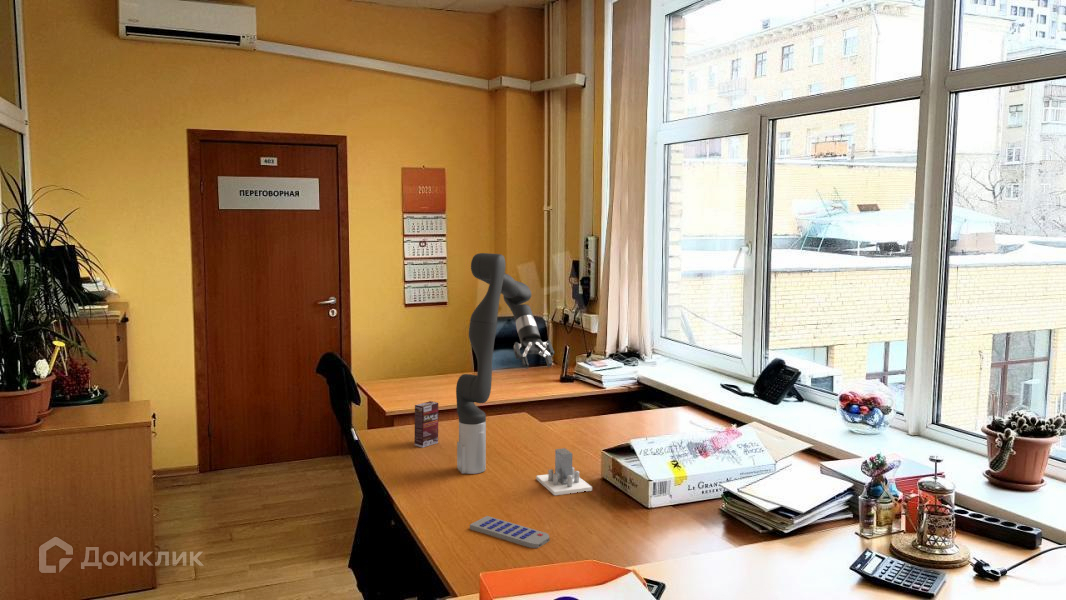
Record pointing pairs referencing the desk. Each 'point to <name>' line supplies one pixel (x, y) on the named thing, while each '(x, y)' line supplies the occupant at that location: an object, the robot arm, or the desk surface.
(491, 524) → the remote control
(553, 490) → the tray
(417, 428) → the supplement box
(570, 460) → the drive
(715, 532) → the desk surface
